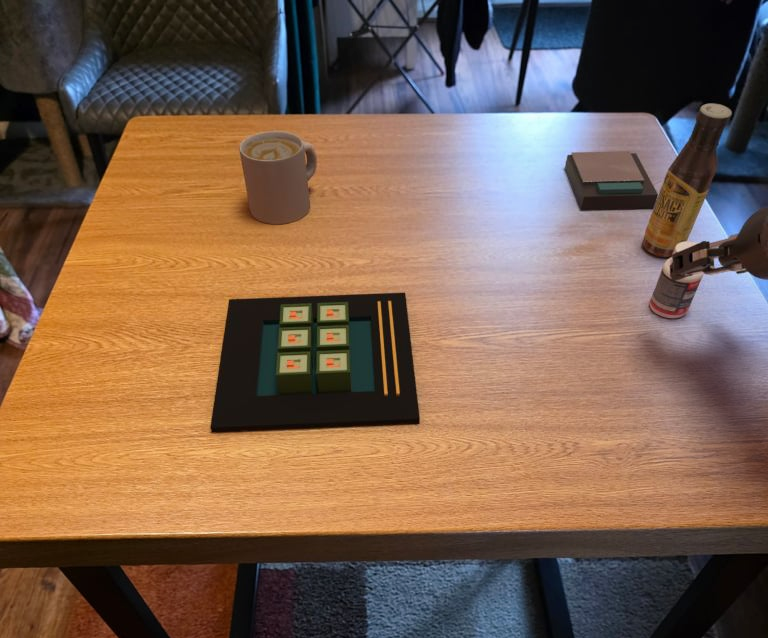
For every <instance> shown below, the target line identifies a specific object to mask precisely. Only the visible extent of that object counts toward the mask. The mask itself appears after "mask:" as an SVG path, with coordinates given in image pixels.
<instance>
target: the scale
mask: <svg viewBox="0 0 768 638" xmlns="http://www.w3.org/2000/svg"><path fill="white" fill-rule="evenodd" d="M564 171H565V172H566V175H567V178H568V180H569V181H568V182H569V184H570V186H571V188H572V192H573V194H574V196H575V199H576V201H577V204H578V207H579V210H580V211H613V210H617V211H618V210H619V211H620V210H653V209H654V206H655V203H656V200H657V198H658V195H659V193H658V192H657V190H656V188H655V186H654V184H653V182H652V181H651V179H650V177H649V175H648V173H647V171H646V169H645V167H644V165H643V163H642V162H641V160H640V158H639V156H638V154H637V153H636V152H633V153H631V152H630V150H624V151H623V150H619V151H618V150H617V151H616V150H615V151H613V150H612V151H577V152H576V151H574V152H571V153H570V154H567V156H566V159H565V166H564Z"/></svg>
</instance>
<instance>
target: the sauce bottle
mask: <svg viewBox="0 0 768 638" xmlns="http://www.w3.org/2000/svg"><path fill="white" fill-rule="evenodd" d="M732 115H733V112H732V110H731V109H730V108H729V107H727V106H725V105H723V104H719V103H713V102H712V103H706V104H703V105H701V106H700V108H699V110H698V112H697V114H696V117H695V124H694V127H693V129H692V131H691V134H690V136H689V138H688V140H687V142H686V143H685V144H684V146H683V147H682V149H681V150H680V151H679V153H678V155H677V156H676V157H675V159H674V160H673V162H672V163H671V165H670V166H669V167H668V169H667V171H666V174H665V177H664V179H663V182H662V185H661V187H660V190H659V193H658V196H657V199H656V202H655V205H654V208H653V209H652V211H651V215H650V218H649V219H648V223H647V225H646V228H645V230H644V235H643V239H642V244H643V248H644V250H645V251H646V252H648V253H650V254H652V255H654V256H656V257H658V258H671V257H672V254H673V252H674V249H675V247H676V245H677V244H678V243H681V242H685V241H689V240H688V239H689V237H690V236H691V233H692V230H693V228H694V225H695V223H696V220H697V219H698V216H699V214H700V211H701V209H702V207H703V204H704V202H705V200H706V198H707V195H708V194H709V191H710V188H711V185H712V183H713V179H714V177H715V176H716V172H717V170H718V168H719V162H718V161H719V160H718V157H717V156H718V155H717V149H718V146H719V145H720V140H721V137H722V135H723V133H724V130H725V128H726V127H727V126H728V125H729V123H730V120H731V117H732Z"/></svg>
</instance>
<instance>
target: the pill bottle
mask: <svg viewBox="0 0 768 638" xmlns="http://www.w3.org/2000/svg"><path fill="white" fill-rule="evenodd" d="M696 244H698V242H694V241H689V240H687V241H685V242H681V243H678V244H677V245H676V247H675V249H674V252H673V254H675V253H676V252H679V251H682V250H684V249H686V248H689V247H691V246H693V245H696ZM672 262H673V259H672V257H668V259H667V260H666V261H665V262H664V264H663V265H662V268H661V271H660V274H659V277H658V279H657V282H656V284H655V287H654V290H653V292H652V294H651V297H650V300H649V308H650V309H651V311H652V312H653V313H655V314H656V315H658V316H660V317H663V318H668V319H679V318H682V317H684V316H685V315H687V313H688V312H689V309H690V307H691V305H692V302H693V300H694V298H695V296H696V294H697V291H698V288H699V285H700V283H701V281H702V279H703V277H704V275H705V274H704V272H703V273H699V274H694V275H693V276H688V277H685V278H683V279H680V280H674V281H673V280H672V278H671V277H670V265H671V264H672Z"/></svg>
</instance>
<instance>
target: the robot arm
mask: <svg viewBox="0 0 768 638" xmlns="http://www.w3.org/2000/svg"><path fill="white" fill-rule="evenodd" d="M697 243H698V242H697ZM672 259H673V262H672V264H671V265H670V277H671V278H672V280H673V281H674V280H680V279H683V278H685V277H688V276H693V275H694V274H699V273H703V272H704V274H703V275H707V276H714V275H718V274H722V273H728V272H735V273H736V274H737V275H741V274H745V273H748V274H749V275H751V276H753V277H754V278H757V279H760V280H764V281H768V205H766V206H765V207H762V208H761V209H758V210H757V211H756V212H754V213H753V214H751V215H750V216H749V217H748V218H747V219H746V220H745V221H744V223H743V225H741V228H740V230H739V232H737V233H735V234H731V235H730V236H728V237H727V238H724V239H719V240H716V241H712V242H710V241H706V240H702V241H700V242H699V243H698V244H696V245H693V246H691V247H689V248H686V249H684V250H682V251H679V252H676V253H675V254H672ZM716 259H718V262H719V264H720V265H721V266H719V267H716V266H715V260H716Z"/></svg>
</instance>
